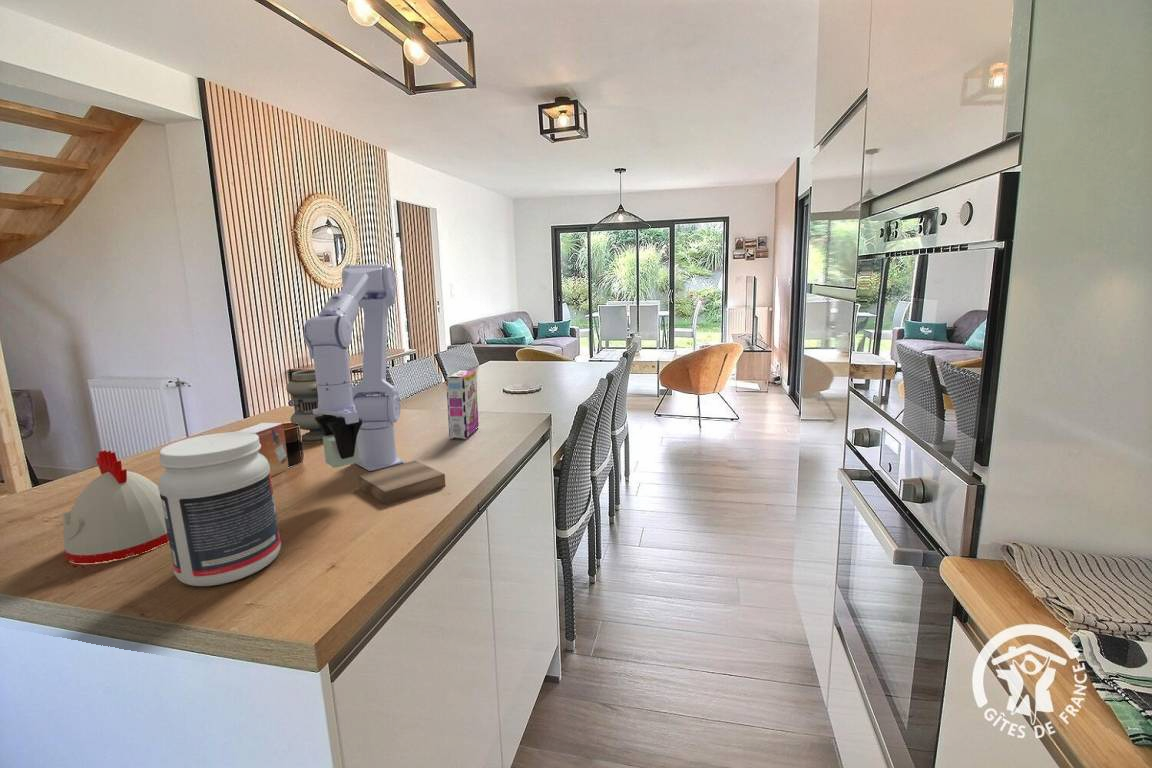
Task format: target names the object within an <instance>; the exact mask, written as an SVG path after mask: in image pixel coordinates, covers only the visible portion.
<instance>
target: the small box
mask: <svg viewBox="0 0 1152 768" xmlns="http://www.w3.org/2000/svg"><path fill="white" fill-rule="evenodd" d="M234 432H250V433H254V434H257V435H258V436H259V442H260V444H261V448H260V449H259V450H258V452H259V453H260V454H262V455H263V456H264V457H265V458H266V459H267V460H268V463H269V465H270V474H271V478H272V477H273V476H276V475H278V474H280V473H283V472H286V471H288V470H289V461H288V460H289V459H288V452H287V445H286V436H285V429H284V424H283V423H280V422H277V423H276V422H260V423H258V424H255V425H253V426H249V427H247V428H243V429H240V430H235V431H234Z"/></svg>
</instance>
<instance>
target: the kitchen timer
mask: <svg viewBox="0 0 1152 768" xmlns="http://www.w3.org/2000/svg"><path fill="white" fill-rule="evenodd" d="M97 453H98V457H95V459H96V460H95V461H96V464H97V466H98V469H99V471H100V475H99V476H98V477H97V476H96V478H94V479H92V481H91V482H89V483H88V484H87V485H86V486H85V487H84V488H83V490H81V492H80V494H79V495H78V497H77V498H76V500H75V502H74V503H73V506H72V507H71V508H70V512H63V513H62V536H63V548H64V549H63V550H64V554H65V558H67V559H68V560H67V559H66V560H67V562H68V561H71V562H74V563H95V562H103V561H109V560H113V559H121V558H125V557H128V556H132V555H136V554H140V553H142V552H145V551H148V550H150V549H152V548H154V547H157V546H159V545H161V544H164V543H167V542H168V541H169V539H168V534H167V529H166V523H165V518H164V513H163V508H162V503H161V498H160V492H159V490H158V485H157V484H156V483H154V482H153V481H152V480H151V479H149V478H148V477H146V476H144V475H142V474H139V473H137V472H133V471H129V470H127V469H123V467H122V460H118V459H117V455H116V452H115V451H114V452H113V451H111V450H106V449H105V450H101V451H98V452H97ZM167 544H168V543H167Z"/></svg>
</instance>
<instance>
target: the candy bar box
mask: <svg viewBox="0 0 1152 768" xmlns="http://www.w3.org/2000/svg"><path fill="white" fill-rule="evenodd" d="M477 382H478V381H477V370H473V369H472V370H471V369H470V370H469V369H468V370H467V369H465V370H458V371H456V372H454V373H451V374H450V375H448V376H446V377H445V384H446V386H445V387H446V401H447V416H448V417H447V420H448V433H449V440H455V439H466V440H468V439H469V438H470V437H471V436H472V435H473V434H474V433H475V432H476V431H477V430H476V428H477V427H478V426H479V412H478V411H479V409H478V407H479V406H478V405H479V404H478V403H479V402H478V386H477V385H478V383H477ZM475 430H476V431H475ZM474 431H475V432H474ZM473 432H474V433H473ZM472 433H473V434H472ZM471 434H472V435H471ZM470 435H471V436H470ZM469 436H470V437H469ZM468 437H469V438H468ZM467 438H468V439H467Z"/></svg>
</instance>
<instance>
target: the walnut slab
mask: <svg viewBox="0 0 1152 768" xmlns="http://www.w3.org/2000/svg"><path fill="white" fill-rule="evenodd" d="M358 480H359V488H360V489H361V490H362V491H364V492H366V493H368V494H369V495H371V496H373V497H374V498H375V499H377V501H378V500H379V501H380V502H381V503H383V504H385V505H386V506H387V505H391V504H394V503H397V502H400V501H404V500H406V499H409V498H413V497H416V496H419V495H422V494H425V493H428V492H432V491H434V490H437V489H438V490H439V489H441V488H443V487H446V475H445V473H443V472H441V471H439V470H437V469H436V468H433V467H430V466H429V465H426V464H424V463H422V462H420V461H417V460H411V461H407V462H404V463H400V464H396V465H393V466H389V467H385V468H381V469H378V470H374V471H369V472H367V473H363V474H359V475H358Z"/></svg>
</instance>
